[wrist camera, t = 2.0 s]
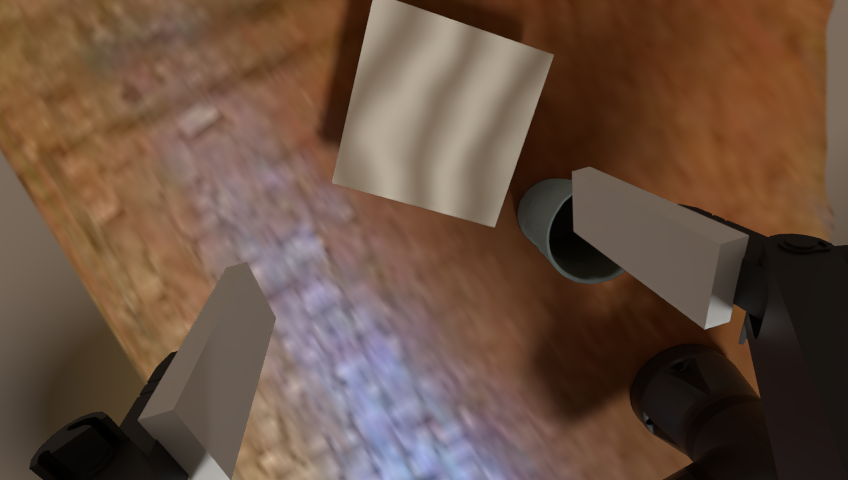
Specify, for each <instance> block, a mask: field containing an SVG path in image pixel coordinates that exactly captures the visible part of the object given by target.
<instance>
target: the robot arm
mask: <svg viewBox="0 0 848 480" xmlns="http://www.w3.org/2000/svg"><path fill="white" fill-rule="evenodd" d="M572 192H573V229H574V232H575V233H576V234H578V235H579V236H580V237H582V238H583V239H584V240H586V241H587V242H588V243H590V244H591V245H592V246H594V247H595V248H596V249H598V250H599V251H600V252H602V253H603V254H604V255H606V256H607V257H608V258H610V259H611V260H612V261H614V262H615V263H616V264H618V265H619V266H620V267H622V268H623V269H624V270H626V271H627V272H628V273H630V274H631V275H632V276H634V277H635V278H636V279H638V280H639V281H640V282H642V283H643V284H644V285H646V286H647V287H648V288H650V289H651V290H652V291H654V292H655V293H656V294H658V295H659V296H660V297H662V298H663V299H664V300H666V301H667V302H668V303H670V304H671V305H672V306H674V307H675V308H676V309H678V310H679V311H680V312H682V313H683V314H684V315H686V316H687V317H688V318H690V319H691V320H692V321H694V322H695V323H696V324H698V325H699V326H700V327H702V328H703V329H704V330H705V329H708V328H711V327H714V326H717V325H720V324H724V323H727V322H730V318H731V313H732V309H733V304H735V305H737V306H739V307H740V308H742V309H743V310H745V311H746V315H745V319H744V323H743V327H742V331H741V335H740V340H739V344H744V343H745V339H748V343H749V348H750V352H751V357H752V361H753V366H754V370H755V375H756V379H757V384H758V388H759V393H760V397H761V398H760V397H759V396H758V395H757V393H756V392H755V391H754V390H753V388H752V387H751V386H750V384H749V383H748V382H747V380H746V379H745V378H744V376H743V375H742V374H741V372H740V371H739V370H738V368H737V367H736V366H735V365H734V364H733V363H732V362H731V361H730V360H729V359H727V358H726V357H724V356H723V355H721V354H720V353H719V352H717V351H716V350H714V349H712V348H710V347H707V346H703V345H697V344H688V345H681V346H677V347H673V348H670V349H668V350H666V351H664V352H662V353H660V354H659V355H657V356H656V357H654V358H653V359H652V360H650V361H649V362H648V363H647V364H646V365H645V366H644V367H643V369H642V370H641V371H640V373H639V374H638V376H637V378H636V380H635V382H634V384H633V388H632V392H631V403H632V408H633V410H634V413H635V414H636V416H637V417H638V419H639V420H640V421H641V422H642V423H643V425H644V426H645V427H646V428H647V429H648V430H649V431H650V432H651V433H652V434H654V435H655V436H657V437H658V438H660V439H661V440H663V441H665V442H666V443H668V444H669V445H671V446H672V447H674V448H676V449H677V450H679V451H680V452H682V453H683V454H685V455H687V456H688V457H689V458H690V459H691V460H692V461H693V463H691V464H690V465H688V466H686V467H684V468H683V469H681V470H679V471H677V472H676V473H674V474H672V475H670V476H669V477H667V478H665V479H663V480H848V245H842V246H834V245H832V244H831V243H829V242H827V241H825V240H822V239H820V238H816V237H812V236H808V235H800V234H778V235H773V236H770V237H766V236H764V235H761V234H759V233H757V232H754V231H752V230H749V229H747V228H745V227H742V226H740V225H737V224H735V223H733V222H730V221H728V220H727V221H725V220H724V219H723V218H721V217H718V216H716V215H714V216H713V215H712V214H711V213H709V212H706V211H704V210H701V209H699V208H696V207H691V206H686V205H682V204H675V203H673V202H671V201H668V200H666V199H664V198H661V197H659V196H657V195H654V194H652V193H650V192H647V191H645V190H643V189H640V188H638V187H636V186H634V185H631V184H629V183H627V182H624V181H622V180H620V179H617V178H615V177H613V176H610V175H608V174H606V173H603V172H601V171H599V170H596V169H594V168H592V167H586V168H583V169H579V170H576V171H572ZM275 319H276V317H275V315H274V313H273V312H272V310H271V308H270V306H269V304H268V302H267V300H266V298H265V296H264V294H263V292H262V290H261V288H260V286H259V285H258V283H257V281H256V279H255V277H254V275H253V273H252V271H251V269H250V267H249V265H248V263H247V262H245V263H242V264H238V265H234V266H231V267H227V268H226V269H225V271H224V273H223V275H222V276H221V278H220V280H219V281H218V283H217V285H216V287H215V288H214V290H213V292H212V293H211V295H210V297H209V299H208V300H207V302H206V304H205V305H204V307H203V309H202V311H201V312H200V314H199V316H198V317H197V319H196V321H195V323H194V324H193V326H192V328H191V329H190V331H189V333H188V335H187V336H186V338H185V340H184V341H183V343H182V345H181V346H180V348H179V350H178V351H176V352H172V353H170V354H169V355H168V356H167V357H166V358H165V359H164V360H163V361H162V362H161V363H160V364H159V365H158V366H157V367H156V369H155V370H154V372H153V374H152V375H151V377H150V378H149V380H148V382H147V383H148V384H147V385H145V386H144V388H143V390H142V391H141V393H140V397H138V398H137V399H136V401H135V402H134V404H133V406H132V407H131V409H130V411H129V412H128V414H127V415H126V417H125V419H124V420H123V422H122V423H121V425H120V427H118V426H117V425H116V423H115V422H114V421H112V419H111V418H110V417H109V416H108V415H107V414H105V413H103V412H94V413H90V414H88V415H85V416H82V417H80V418H78V419H76V420H74V421H73V422H71V423H69V424H67V425H66V426H64V427H63V428H61V429H60V430H59V431H57V432H56V433H55V434H54V435H52V436H51V437H50V438H49V439H48V440H47V441H46V442H45V443H44V444H43V445H42V446H41V447H40V448H39V449H38V451H37V452H36V454H35V455H34V456H33V458H32V459H31V463H30V468H29V469H31V470H32V471H33V472H34V473H35V474H37V475H38V476H39V477H40V478H42V479H43V480H187V479H188V477H189V478H190V479H191V480H231V478H232V475H233V471H234V468H235V464H236V460H237V457H238V453H239V450H240V446H241V442H242V439H243V435H244V432H245V428H246V424H247V421H248V417H249V413H250V410H251V406H252V403H253V399H254V395H255V392H256V388H257V385H258V381H259V377H260V374H261V370H262V366H263V363H264V359H265V356H266V352H267V348H268V345H269V341H270V338H271V334H272V330H273V327H274V323H275Z"/></svg>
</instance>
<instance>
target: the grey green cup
mask: <svg viewBox="0 0 848 480" xmlns="http://www.w3.org/2000/svg"><path fill="white" fill-rule="evenodd" d="M517 217H518V223H519V226H520V228H521V230H522V232H523V234H524V235H525V236H526V237H527V238H528V239H529V240H530V241H531V242H532V243H533V244H534V245H535V246H537V248H538V249H539V250H540V252H542V253H543V255H544V256H545V257H546V258H547V259H548V260H549V261H550V263H551V264H552V265H553V266H554V267H555V268H556V269H557V271H558V272H559V273H561V274H562V275H563V276H564V277H566V278H568V279H570V280H572V281H575V282H578V283H584V284H595V283H601V282H605V281H608V280H611V279H613V278H615V277H617V276H619V275H621V274H622V273H624V272H625V271H626V270H624V269H623V268H622V267H620V266H619V265H618V264H616V263H615V262H614V261H612V260H611V259H610V258H608V257H607V256H606V255H604V254H603V253H602V252H600V251H599V250H598V249H596V248H595V247H594V246H592V245H591V244H590V243H588V242H587V241H586V240H584V239H583V238H582V237H580V236H579V235H578V234H576V233H575V232H574V229H573V192H572V180H569V179H546V180H543V181H540V182H538V183H536V184H535V185H533V186H532V187H531V188H529V189H528V190H527V192H526V193H525V194H524V196H523V197H522V199H521V201H520V203H519V207H518V214H517Z"/></svg>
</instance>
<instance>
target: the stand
mask: <svg viewBox="0 0 848 480" xmlns="http://www.w3.org/2000/svg"><path fill="white" fill-rule="evenodd" d="M553 57H554V55H553V54H550V53H547V52H544V51H542V50H539V49H536V48H533V47H530V46H527V45H524V44H521V43H518V42H516V41H513V40H510V39H507V38H504V37H501V36H498V35H495V34H492V33H489V32H487V31H484V30H481V29H478V28H475V27H472V26H469V25H466V24H463V23H461V22H458V21H455V20H452V19H449V18H446V17H443V16H440V15H437V14H435V13H432V12H429V11H426V10H423V9H420V8H417V7H414V6H411V5H409V4H406V3H403V2H400V1H397V0H373V1H372V5H371V10H370V14H369V18H368V23H367V27H366V32H365V36H364V41H363V45H362V50H361V54H360V59H359V63H358V68H357V72H356V77H355V81H354V86H353V90H352V95H351V99H350V104H349V108H348V113H347V117H346V122H345V126H344V131H343V135H342V140H341V144H340V149H339V153H338V157H337V162H336V166H335V171H334V175H333V180H332V183H334V184H337V185H341V186H345V187H348V188H352V189H356V190H359V191H363V192H367V193H370V194H374V195H378V196H381V197H385V198H389V199H392V200H396V201H399V202H403V203H407V204H410V205H414V206H418V207H421V208H425V209H429V210H432V211H436V212H440V213H443V214H447V215H451V216H454V217H458V218H461V219H465V220H469V221H472V222H476V223H480V224H483V225H487V226H491V227H494V228H495V225H496V222H497V219H498V216H499V213H500V210H501V208H502V205H503V202H504V199H505V196H506V193H507V190H508V187H509V184H510V181H511V178H512V176H513V173H514V170H515V167H516V164H517V161H518V158H519V155H520V152H521V149H522V147H523V144H524V141H525V138H526V135H527V132H528V129H529V126H530V123H531V120H532V117H533V115H534V112H535V109H536V106H537V103H538V100H539V97H540V94H541V91H542V88H543V86H544V83H545V80H546V77H547V74H548V71H549V68H550V65H551V62H552V59H553Z"/></svg>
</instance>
